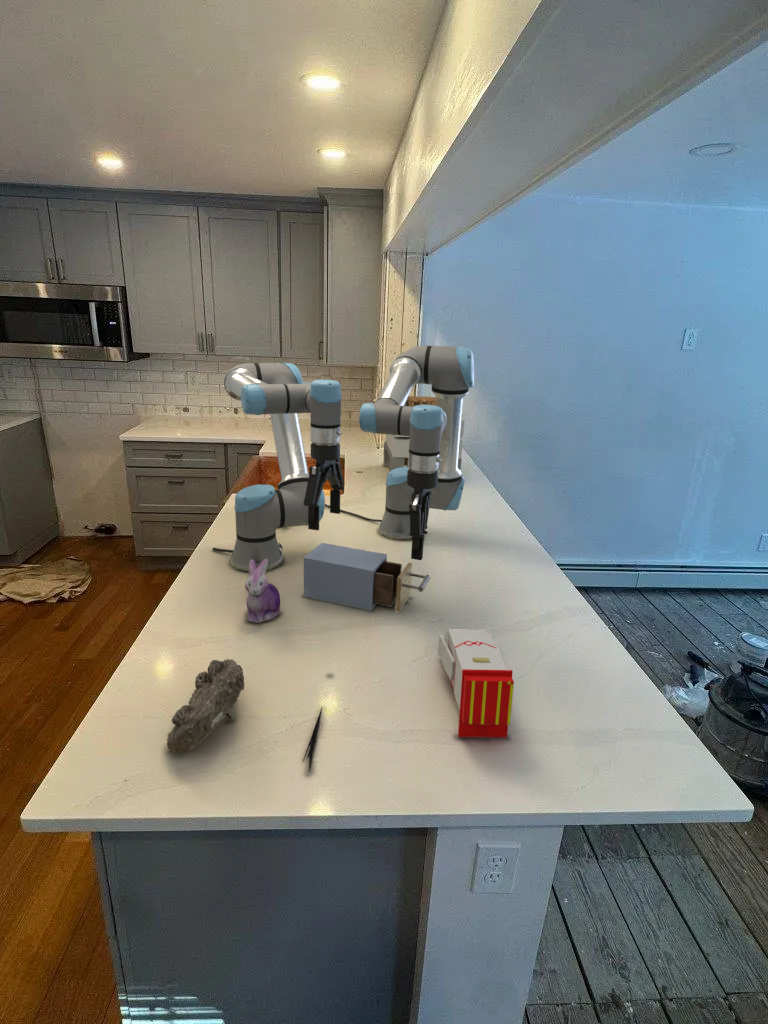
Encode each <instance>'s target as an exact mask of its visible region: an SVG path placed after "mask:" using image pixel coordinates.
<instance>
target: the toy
mask: <svg viewBox="0 0 768 1024" xmlns="http://www.w3.org/2000/svg"><path fill="white" fill-rule="evenodd" d="M446 640H447V643H446V641H445V639H444V636H443V635H442V634H439V637H438V646H437V656H438V657H439V659H440V661H441V663H442V666H443V668H444V670H445V672H446V674H447V677H448V679H449V681H450V684H451V687H452V690H453V693H454V697H455V701H456V705H457V708H458V711H459V714H458V715H459V716H458V730H457V731H458V732H457V737H458V738H508V731H509V726H510V725H511V717H512V707H513V697H514V696H513V695H514V684H515V680H514V679H513V673H514V671H513V670H512V669H508V667H507V665H506V662H505V661H504V659H503V658H502V655H501V653H500V651H499V649H498V647H497V643H496V639H495V637H494V635H493V634H491V632H490V631H489V629H467V628H466V629H465V628H463V629H461V628H460V629H459V628H448V630H447V639H446Z"/></svg>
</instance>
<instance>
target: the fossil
mask: <svg viewBox="0 0 768 1024" xmlns="http://www.w3.org/2000/svg"><path fill="white" fill-rule="evenodd" d="M243 670H244V669H243V667H242V665H240V664H237V662H236V661H235V660H234V659H232V658H231V659H227V658H226V659H224V660H223V661H222V660H217V659H212V660H211V661H210V663H209V665H208V666H207V671H201V672H199V673H198V674H197V675H196V676H195V680H194V684H195V685H194V687H195V689H194V690H193V693H192V694H191V697H190V698H189V700H188V704H184V705H182V706H181V707H180V709H177V710H176V711H175V713H174V715H173V716H172V718H171V723H172V724H173V727H172V730H171V731H170V732H168V734H167V738H166V741H167V742H166V745H167V749H168V750H169V751H173V752H174V753H176V754H178V753H182V752H188V751H189V752H192V751H193V750H195V748H196V747H197V746H199V744H200V743H201V742H203V741H204V740H205V739H206V738H207V737H208V736H209V735H210V734H211V733H212V732H214V730H215V729H217V727H218V726H219V724H220V722H221V721H222V720H223V719H224V718H225V716H226V717H227V719H229V720H233V717H232V715H230V714H229V710H230V709H231V708H234V706H235V704H236V703H237V702H238V699H239V697H240V695H241V693H242V691H243V690H245V689H244V688H245V675H244V671H243Z"/></svg>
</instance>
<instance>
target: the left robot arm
mask: <svg viewBox="0 0 768 1024" xmlns="http://www.w3.org/2000/svg"><path fill="white" fill-rule="evenodd" d="M223 387H224V390H225V392H226V393H227V395H228V396H230V397H231V398H232V399H234V400H235V401H240V402H241V403H240V404H241V408H242V410H243V412H244V414H245V415H251V416H253V415H254V416H261V415H269V416H270V421H271V427H272V433H273V440H274V445H275V450H276V456H277V462H278V467H279V474H280V481H279V482H278V484H277V489H276V488H275V486H274V485H271V484H260V483H259V484H253V485H249V486H246V487H244V488H241V490H238V491H237V493H236V494H235V496H234V508H233V509H234V511H235V512H234V513H235V533H236V534H235V535H236V539H235V543H234V546H233V549H228V548H227V549H226V548H218V547H213V548H212V551H214V552H220V553H228V554H229V553H230V554H231V557H230V559H231V565H232V567H234V569H237V570H239V571H241V572H247V573H249V563H250V561H251V560H254V561H255V563H256V565H257V567H258V566H259V565H260V564H261V562H262V561H263V560H264V559H268V566H267V569H266V572H267V571H270V570H274V569H276V568H278V567H279V566H280V565H282V563H283V547H284V546H283V545H282V544H281V543H280V542H279V541H278V539H277V529H283V528H284V529H286V528H295V527H304V526H305V527H307V528H308V530H312V531H319V530H320V522H321V521H322V519H323V518H324V513H325V507H326V506H325V504H326V499H325V491H324V485H325V484H326V483H327V481H328V483H329V485H330V487H331V489H330V490H329V506H330V508H329V513H330V514H336V515H340V514H341V512H340V509H341V491H345V479H344V476H343V471H342V466H341V444H340V442H341V436H342V435H343V432H342V431H341V418H342V416H341V415H342V414H341V413H342V398H343V395H342V386H341V383H340V382H339V381H338V380H333V379H315V380H314V379H313V380H312V381H303V376H302V374H301V370H300V369H299V367H297V365H295V364H294V363H291V362H290V363H289V362H283V361H282V362H245V363H240V364H238V365H235V366H233V367H232V368H231V369H229V370H228V371H227V372H226V374H225V376H224V378H223ZM298 414H310V435H309V436H310V437H309V439H310V442H311V444H310V458H311V459H313V460H315V465H314V466H313V465H312V466H311V465H310V466H309V468H308V463H307V462H308V461H307V457H306V452H305V447H304V442H303V435H302V430H301V425H300V420H299V415H298ZM285 527H286V528H285Z"/></svg>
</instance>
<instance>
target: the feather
mask: <svg viewBox="0 0 768 1024" xmlns="http://www.w3.org/2000/svg"><path fill="white" fill-rule="evenodd" d="M329 675H330V676H331V675H332V674H331V673H330V674H329ZM322 710H323V707H321V708H320V710H319V713H318V716H317V719H316V723H315V725H314V728H313V731H312V733H311V737H310V739H309V742H308V745H307V748H306V751H305V754H304V757H303V760H302V763H301V767H302V765H303V763H304V761H305V758H308V759H309V760H308V762H307V763H308V764H307V766H308V771H310V770H311V766H312V765H311V764H312V760H313V757H315V756H314V755H315V751H316V749H315V746H317V739H318V733H319V729H320V722H321V717H322V712H323V711H322ZM313 754H314V755H313ZM306 755H307V757H306Z"/></svg>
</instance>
